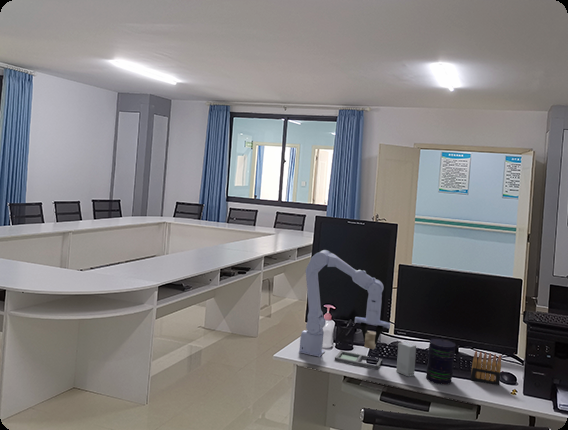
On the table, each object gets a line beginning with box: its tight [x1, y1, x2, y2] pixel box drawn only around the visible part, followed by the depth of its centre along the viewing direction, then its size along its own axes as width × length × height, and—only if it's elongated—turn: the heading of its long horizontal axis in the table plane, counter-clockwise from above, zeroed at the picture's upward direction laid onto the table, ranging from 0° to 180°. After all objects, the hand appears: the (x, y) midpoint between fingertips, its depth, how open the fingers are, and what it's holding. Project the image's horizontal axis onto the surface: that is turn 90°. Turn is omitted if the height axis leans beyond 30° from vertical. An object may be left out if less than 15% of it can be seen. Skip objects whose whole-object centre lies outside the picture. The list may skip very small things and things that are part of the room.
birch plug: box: [364, 330, 377, 350], centre depth 215 cm, size 4×4×6 cm
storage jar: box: [425, 338, 456, 386], centre depth 203 cm, size 10×10×15 cm
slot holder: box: [334, 350, 383, 370], centre depth 217 cm, size 18×10×1 cm, turn 69°
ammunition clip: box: [470, 350, 502, 386], centre depth 205 cm, size 11×2×12 cm, turn 72°
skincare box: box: [395, 341, 417, 377], centre depth 207 cm, size 6×4×12 cm
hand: (370, 342), depth 215 cm, fingers closed on birch plug, 4 cm apart
